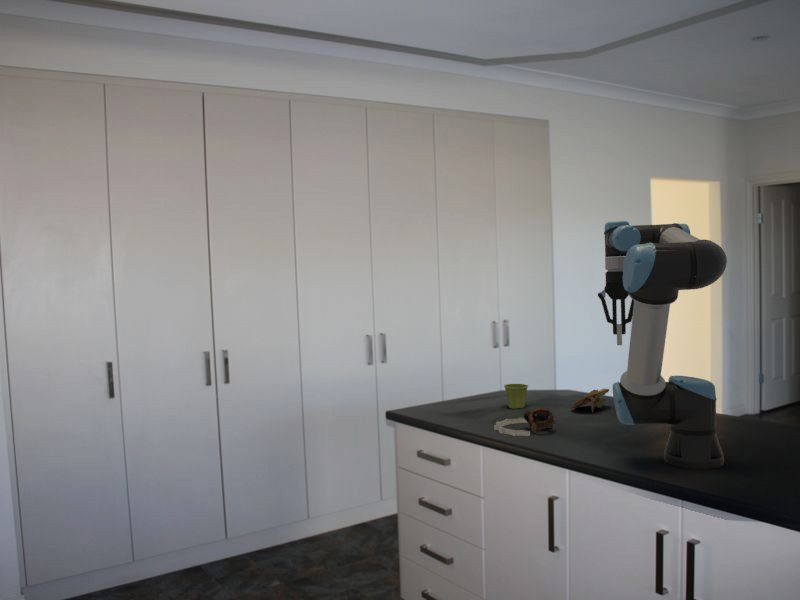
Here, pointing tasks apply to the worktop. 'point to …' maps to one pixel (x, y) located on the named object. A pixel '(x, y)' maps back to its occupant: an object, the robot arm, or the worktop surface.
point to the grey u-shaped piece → (510, 431)
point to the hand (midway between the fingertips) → (619, 344)
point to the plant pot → (516, 395)
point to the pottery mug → (539, 419)
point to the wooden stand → (591, 399)
